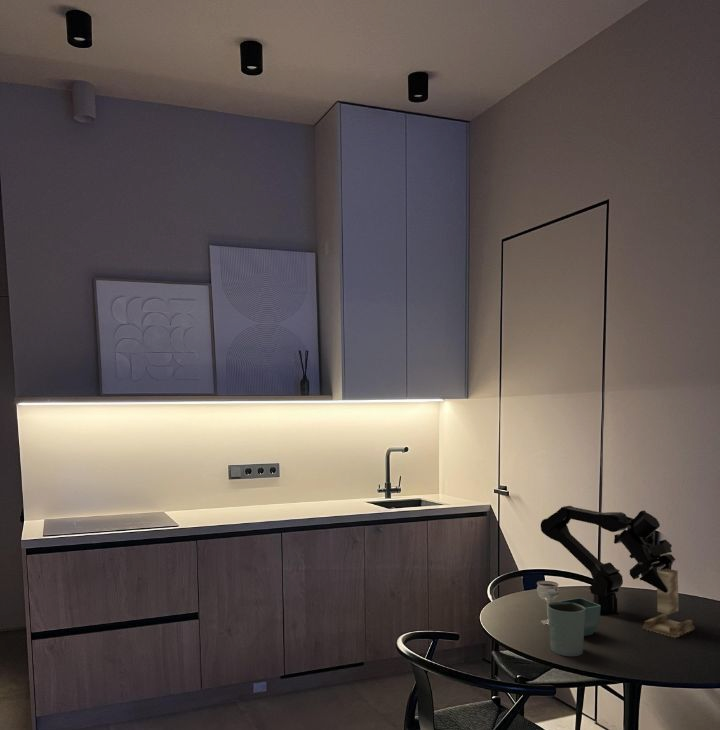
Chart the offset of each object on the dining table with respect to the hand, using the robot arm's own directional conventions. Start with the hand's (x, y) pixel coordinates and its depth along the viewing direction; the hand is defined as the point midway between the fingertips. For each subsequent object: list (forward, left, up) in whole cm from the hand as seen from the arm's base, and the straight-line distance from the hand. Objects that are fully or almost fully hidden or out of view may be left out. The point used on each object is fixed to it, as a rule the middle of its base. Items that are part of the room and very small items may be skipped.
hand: (672, 590), depth 201 cm
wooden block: (-1, +1, -7) cm, 7 cm away
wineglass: (-34, +13, -12) cm, 38 cm away
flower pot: (-29, +2, -12) cm, 32 cm away
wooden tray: (-1, +1, -12) cm, 12 cm away
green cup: (-39, -10, -12) cm, 42 cm away
